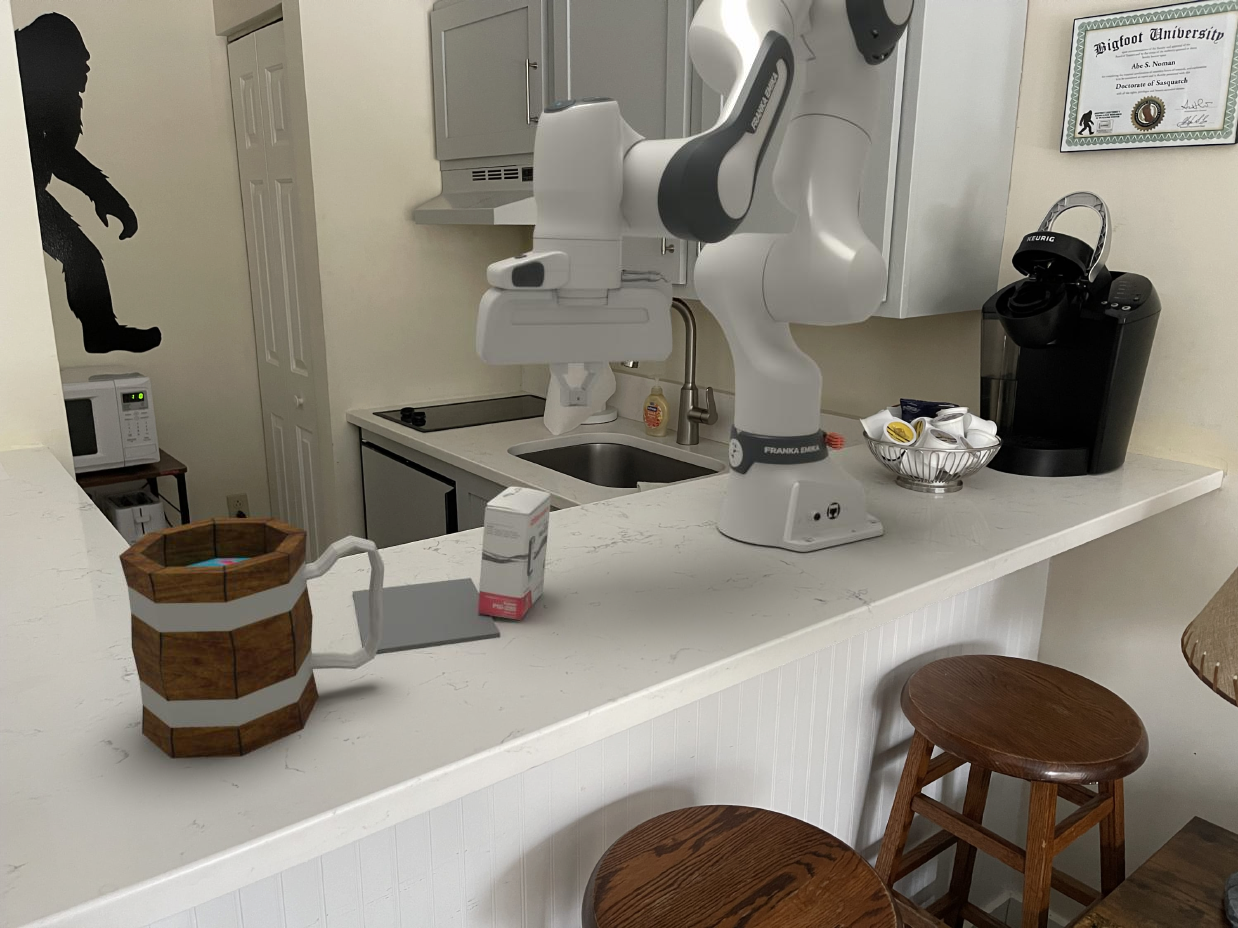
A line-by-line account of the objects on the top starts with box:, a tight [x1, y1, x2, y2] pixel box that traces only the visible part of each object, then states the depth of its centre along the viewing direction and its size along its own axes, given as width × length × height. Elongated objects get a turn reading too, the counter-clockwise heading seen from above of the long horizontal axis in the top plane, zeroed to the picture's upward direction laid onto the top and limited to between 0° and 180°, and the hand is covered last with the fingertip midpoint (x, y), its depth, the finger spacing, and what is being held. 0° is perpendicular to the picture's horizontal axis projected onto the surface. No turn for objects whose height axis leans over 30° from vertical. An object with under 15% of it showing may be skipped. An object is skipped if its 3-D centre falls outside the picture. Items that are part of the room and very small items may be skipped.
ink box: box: [478, 486, 552, 621], centre depth 95 cm, size 9×5×12 cm, turn 169°
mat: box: [352, 577, 501, 655], centre depth 94 cm, size 13×15×1 cm
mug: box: [118, 517, 385, 759], centre depth 74 cm, size 20×14×15 cm
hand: (575, 405), depth 93 cm, fingers closed
